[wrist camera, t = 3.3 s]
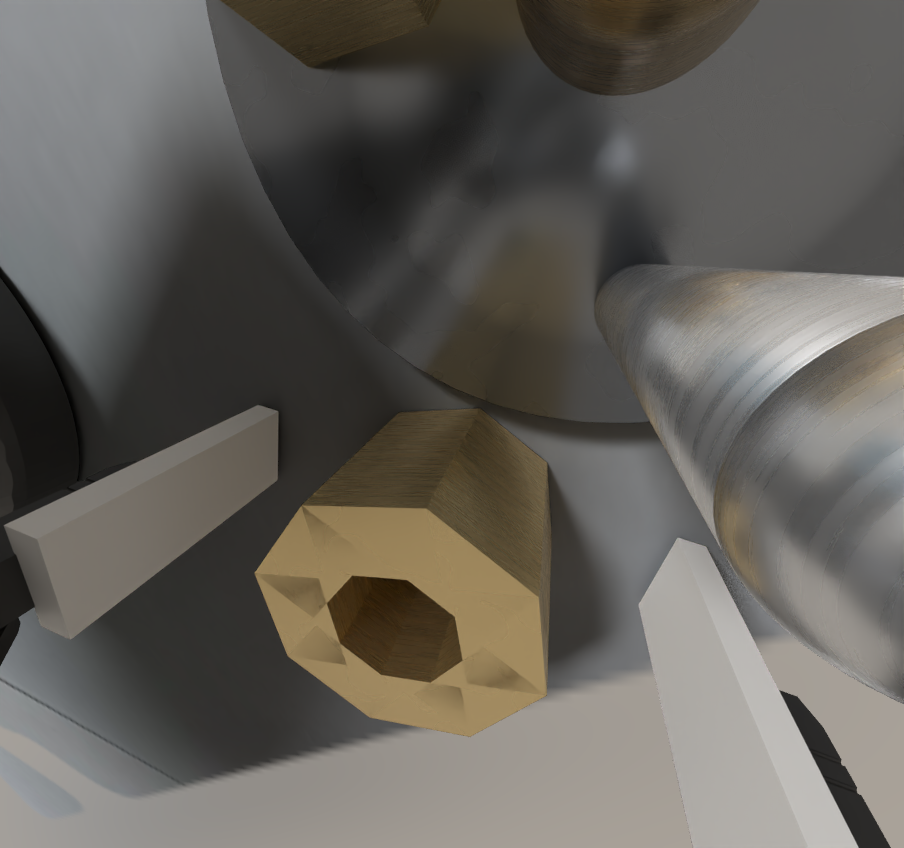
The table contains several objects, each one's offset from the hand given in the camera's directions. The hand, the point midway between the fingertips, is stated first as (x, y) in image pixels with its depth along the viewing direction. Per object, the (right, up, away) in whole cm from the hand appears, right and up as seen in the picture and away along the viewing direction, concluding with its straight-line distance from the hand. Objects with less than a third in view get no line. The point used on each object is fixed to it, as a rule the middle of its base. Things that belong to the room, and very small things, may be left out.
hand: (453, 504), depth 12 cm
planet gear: (0, 0, 0) cm, 0 cm away
